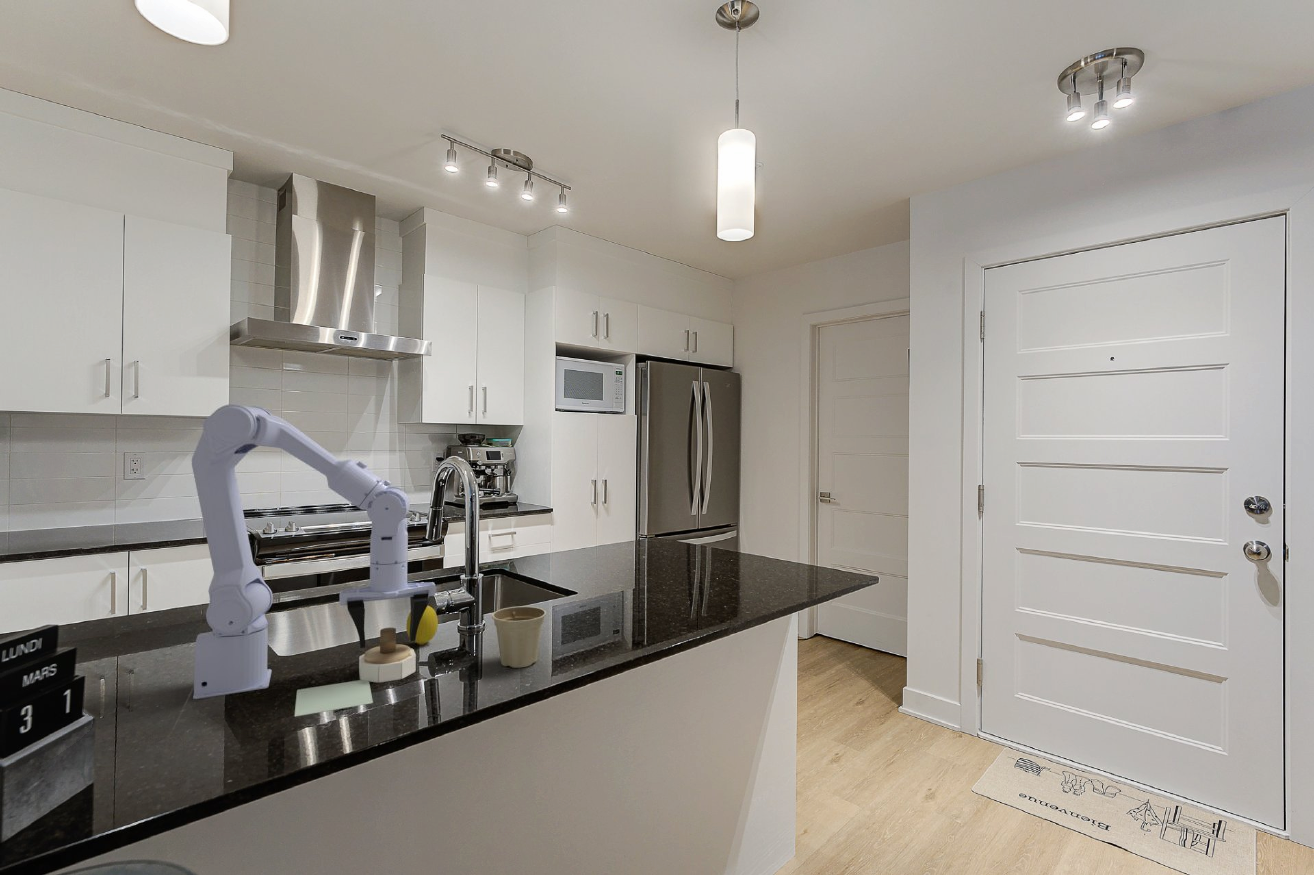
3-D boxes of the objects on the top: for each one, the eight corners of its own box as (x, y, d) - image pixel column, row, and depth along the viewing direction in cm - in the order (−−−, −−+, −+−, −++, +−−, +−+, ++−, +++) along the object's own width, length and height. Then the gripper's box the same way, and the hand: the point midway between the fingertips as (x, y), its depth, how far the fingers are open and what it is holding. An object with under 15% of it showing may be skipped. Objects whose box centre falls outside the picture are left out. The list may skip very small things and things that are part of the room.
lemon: (427, 652, 115) (427, 608, 115) (399, 649, 116) (400, 606, 116) (443, 642, 120) (443, 600, 120) (417, 639, 121) (417, 598, 121)
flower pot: (480, 661, 110) (481, 613, 110) (525, 649, 117) (525, 603, 117) (510, 676, 104) (511, 624, 104) (556, 662, 111) (557, 613, 111)
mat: (294, 719, 87) (294, 716, 87) (297, 692, 96) (297, 690, 96) (372, 705, 92) (372, 702, 92) (368, 681, 101) (368, 678, 101)
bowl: (361, 687, 98) (361, 668, 98) (358, 669, 106) (358, 651, 106) (417, 678, 102) (417, 660, 102) (411, 661, 110) (411, 644, 110)
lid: (364, 666, 99) (364, 638, 99) (364, 652, 106) (364, 626, 106) (411, 660, 102) (412, 633, 102) (408, 646, 109) (409, 621, 108)
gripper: (340, 569, 97) (339, 657, 97) (438, 562, 104) (437, 643, 104) (339, 561, 103) (338, 643, 103) (432, 554, 110) (430, 631, 110)
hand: (387, 642), depth 104 cm, fingers open, 7 cm apart
